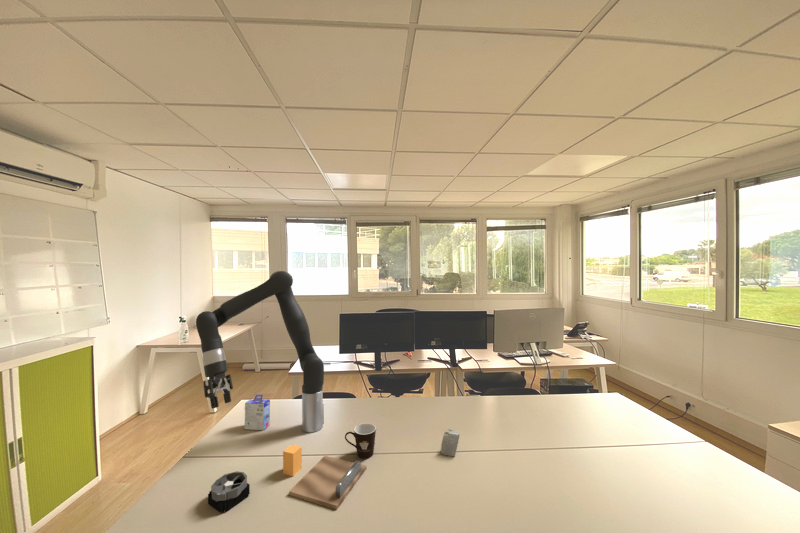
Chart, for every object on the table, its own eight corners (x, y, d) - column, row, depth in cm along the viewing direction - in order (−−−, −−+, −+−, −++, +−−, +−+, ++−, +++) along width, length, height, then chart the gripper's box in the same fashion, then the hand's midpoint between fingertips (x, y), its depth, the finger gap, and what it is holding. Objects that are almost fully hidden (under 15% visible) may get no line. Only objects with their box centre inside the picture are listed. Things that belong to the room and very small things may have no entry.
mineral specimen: (463, 455, 116) (459, 435, 116) (441, 458, 118) (437, 438, 118) (463, 444, 123) (459, 425, 123) (442, 446, 125) (438, 427, 125)
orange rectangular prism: (291, 466, 112) (291, 444, 112) (301, 468, 111) (301, 446, 111) (283, 473, 108) (283, 451, 108) (293, 476, 106) (293, 453, 107)
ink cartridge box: (270, 424, 143) (270, 394, 143) (264, 430, 138) (263, 399, 138) (251, 423, 144) (251, 393, 145) (244, 429, 139) (244, 398, 139)
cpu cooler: (235, 467, 103) (253, 477, 98) (235, 483, 103) (254, 494, 98) (203, 486, 94) (221, 498, 89) (203, 504, 94) (222, 517, 89)
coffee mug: (380, 450, 121) (379, 425, 121) (369, 463, 113) (368, 436, 113) (355, 444, 126) (355, 420, 126) (343, 455, 118) (343, 429, 118)
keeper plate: (324, 458, 116) (324, 445, 116) (366, 468, 110) (366, 454, 110) (289, 495, 98) (289, 479, 98) (336, 509, 91) (336, 492, 91)
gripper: (213, 361, 110) (221, 406, 107) (234, 357, 124) (241, 398, 121) (193, 367, 109) (199, 413, 106) (216, 363, 123) (222, 403, 120)
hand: (222, 405), depth 113 cm, fingers open, 8 cm apart
